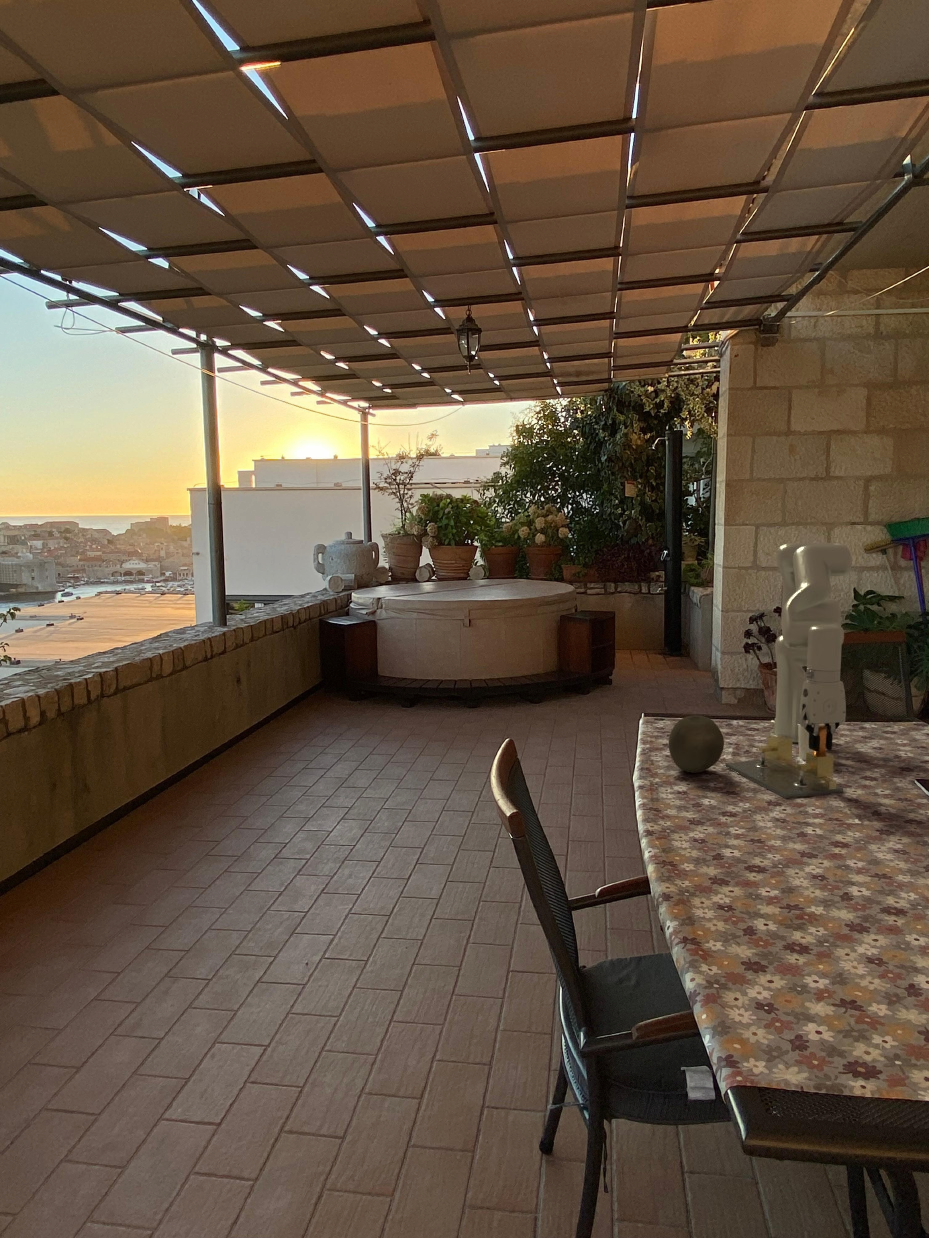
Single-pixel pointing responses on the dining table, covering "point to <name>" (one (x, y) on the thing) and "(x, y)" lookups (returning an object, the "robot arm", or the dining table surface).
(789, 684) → the robot arm
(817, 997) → the dining table surface
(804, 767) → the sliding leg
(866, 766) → the dining table surface
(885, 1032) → the dining table surface
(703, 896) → the dining table surface
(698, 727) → the dimpled olive sphere
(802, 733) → the white cup
